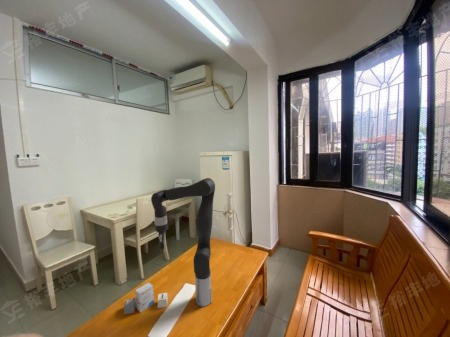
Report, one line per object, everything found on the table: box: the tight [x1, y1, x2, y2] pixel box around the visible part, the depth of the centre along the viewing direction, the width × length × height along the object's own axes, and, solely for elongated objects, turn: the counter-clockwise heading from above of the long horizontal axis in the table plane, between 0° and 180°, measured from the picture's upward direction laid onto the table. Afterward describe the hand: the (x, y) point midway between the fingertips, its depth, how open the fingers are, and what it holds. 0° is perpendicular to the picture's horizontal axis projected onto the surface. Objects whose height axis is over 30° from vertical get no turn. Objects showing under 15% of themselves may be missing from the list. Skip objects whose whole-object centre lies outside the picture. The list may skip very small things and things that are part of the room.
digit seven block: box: [123, 297, 137, 315], centre depth 108 cm, size 5×5×5 cm
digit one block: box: [157, 292, 169, 309], centre depth 112 cm, size 5×5×5 cm
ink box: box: [134, 282, 155, 313], centre depth 110 cm, size 9×5×12 cm, turn 141°
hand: (162, 248), depth 120 cm, fingers closed
